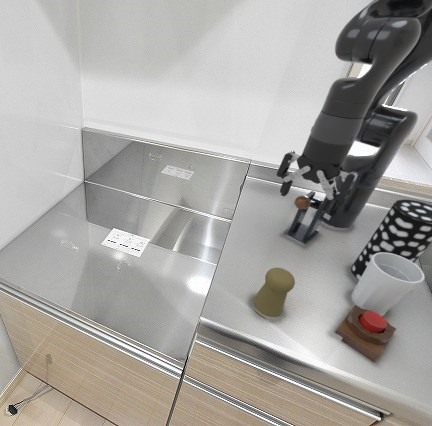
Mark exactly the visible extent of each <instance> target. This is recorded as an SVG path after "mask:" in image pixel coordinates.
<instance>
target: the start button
mask: <svg viewBox="0 0 432 426" xmlns="http://www.w3.org/2000/svg"><path fill="white" fill-rule="evenodd" d="M359 321H360V323H361V325H362V326H363V327H364V328H366V329H367V330H369V331H371V332H374V333H380V332H382V331H383V329H384V328H385V327H386V326H387V322H388V321H387V320H386V318H384V317H383V316H381V315H379V314H377V313H375V312H372V311H366V312H364V313H363V315H362V316H361V317H360V319H359ZM386 321H387V322H386Z"/></svg>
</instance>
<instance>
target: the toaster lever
mask: <svg viewBox="0 0 432 426" xmlns="http://www.w3.org/2000/svg"><path fill="white" fill-rule="evenodd" d="M322 202H323V200H322V199H320V198H317V197H312V198H311V200H310V199H309V198H308V197H307V196H306V195H299V196H297V197H295V199H294V201H293V203H294V207H296V209H306V208H308V207H309V208H312V209H314V210H318V208H319V206H320V204H321V203H322ZM309 208H308V209H309Z"/></svg>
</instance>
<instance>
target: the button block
mask: <svg viewBox="0 0 432 426" xmlns="http://www.w3.org/2000/svg"><path fill="white" fill-rule="evenodd" d="M366 311H370V310H366V309H362V308H360V307H359V306H358V305H357V304H355V305H354V306H353V307H352V308H351V310H350V311H349V313H348V314H347V315H346V316H345V318H344V319H343V320H342V321H341V323H340V324H339V325H338V327H337V328H336V330H335V331H334V333H335V334H337V335H338V336H340V337H341V341H342V342H343V344H346V345H347V346H348V347H350V348H352V349H353V350H355V351H356V352H358V353H359V354H360V355H362V356H363V357H365V358H367V359H368V360H370V361H371V362H373V363H375V362H376V361H378V360H379V358H380V357H381V356H382V354H383V352H384V351H385V349H386V347H387V346H388V343H389V342H390V340H391V338H392V337H393V335H394V334H395V332H396V330H397V327H395V326H393V325H391V324H390V323H389V322H388V321H387V320H386V322H387V326H386V327H385V328H384V329H383V331H382V332H380V333H374V332H371V331H369V330H367V329H366V328H364V327H363V326H362V325H361V323H360V321H359V319H360V317H361V316H362V315H363V313H364V312H366ZM372 312H373V311H372Z"/></svg>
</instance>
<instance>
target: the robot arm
mask: <svg viewBox="0 0 432 426" xmlns="http://www.w3.org/2000/svg"><path fill="white" fill-rule="evenodd" d="M334 54H335V57H336V58H337V59H338V60H340V61H342V62H345V63H352V64H361V65H368V66H370V68H369V69H368V70H367V72H366V73H364V74H363V75H362V76H345V77H339V78H338V79H336V80H334V81H333V82H332V84H331V85H330V88H329V90H328V93H327V95H326V97H325V99H324V102H323V105H322V106H321V110H320V112H319V113H318V116H317V117H316V118H315V121H314V123H313V125H312V127H311V129H310V132H309V135H308V138H307V141H306V142H305V146H304V148H303V150H302V153H301V155H299V154H297V153H296V151H295V150H290V151H289V152H286V153H285V154H284V156H283V158H282V159H281V163H280V165H279V167H278V169H277V171H276V176H277V178H281V179H282V184H281V186H280V189H279V193H280V196H282V197H285V196H287V195H288V194H289V193H290V191H291V187H292V185H293V183H294V179H296V178H299V177H300V176H301V177H302V179H304V180H307V181H311V182H312V183H314V184H317V185H318V184H320V185H321V188H322V190H323V191H324V194H325V196H324V198H323V200H322V201H323V203H322V205H321V207H320V209H319V212H321V213H323V212H324V211H325V214H324V216H323V218H322V220H321V222H322V223H323V224H325V225H327V226H329V227H332V228H336V229H343V230H346V229H351V228H352V227H354V225H355V223H356V221H357V219H358V217H359V216H360V215H361V213H362V211H363V210H364V208H365V206H366V204H367V203H368V201H369V199H370V198H371V196H372V194H373V193H374V191H375V190H376V188H377V187H378V184H379V183H380V181H381V179H382V177H384V175H385V174H386V171H387V170H388V169H389V167H390V165H391V164H392V163H393V161H394V159H395V157H396V156H397V154H398V152H399V151H400V150H401V148H402V146H403V145H404V144H405V142H406V141H407V139H408V138H410V137H409V136H410V135H411V134H412V132H413V130H414V129H415V127H416V125H417V123H418V121H419V116H418V113H417V112H415V111H412V110H407V109H403V108H398V107H393V106H388V105H385V103H386V101H387V100H388V98H389V96H390V95H391V94H392V93H393V91H394V90H396V88H398V87H399V86H400V85H401V84H403V82H405V81H406V80H407V79H408V78H410V77H411V76H412V75H414V74H415V73H416V72H418V71H419V70H421V69H422V68H424V67H425V66H427V65H428V64H429V63H431V62H432V0H372V1H371V2H370V3H368V5H366V6H365V7H363V8H362V9H361V10H360V11H358V12H357V13H356V14H354V16H353V17H352V18H351V19H350V20H349V21H348V22H347V23H346V24H345V25H344V27H343V28H342V29H341V30H340V33H339V34H338V35H337V38H336V40H335V44H334ZM355 142H358V143H360V144H363V145H367V146H370V147H374V148H376V149H377V151H375V152H354V153H349V152H350V151H351V148H352V147H353V145H354V143H355ZM294 162H296V164H297V167H298V169H297V170H295V171H293V172H291V173H289V169H290V166H291V164H293V163H294Z"/></svg>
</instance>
